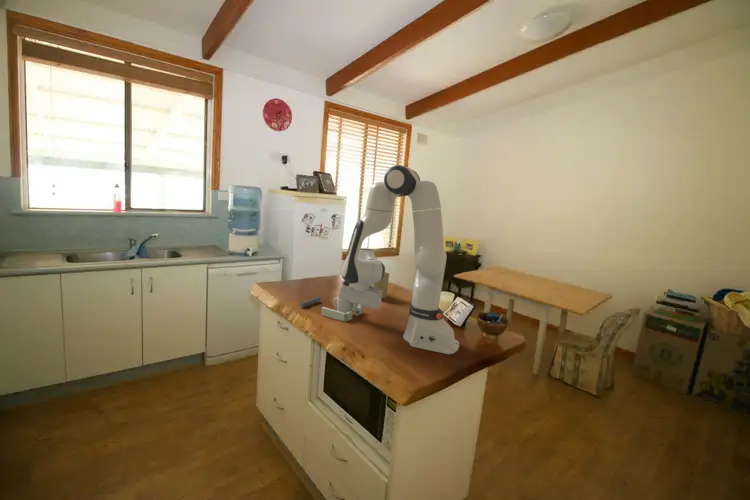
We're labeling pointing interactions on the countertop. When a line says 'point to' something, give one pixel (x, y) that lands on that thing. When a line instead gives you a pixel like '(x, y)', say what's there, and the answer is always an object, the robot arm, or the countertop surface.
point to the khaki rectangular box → (382, 285)
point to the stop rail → (309, 302)
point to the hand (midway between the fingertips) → (358, 313)
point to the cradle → (339, 314)
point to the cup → (343, 305)
